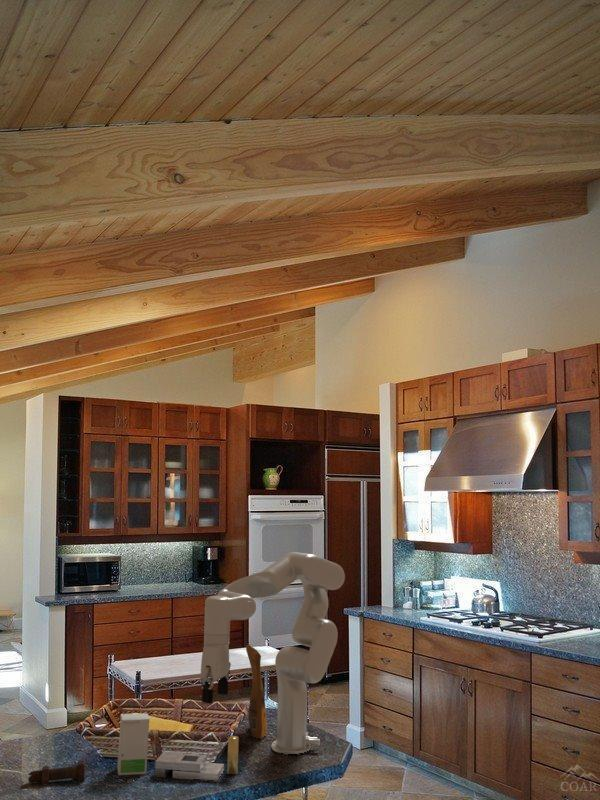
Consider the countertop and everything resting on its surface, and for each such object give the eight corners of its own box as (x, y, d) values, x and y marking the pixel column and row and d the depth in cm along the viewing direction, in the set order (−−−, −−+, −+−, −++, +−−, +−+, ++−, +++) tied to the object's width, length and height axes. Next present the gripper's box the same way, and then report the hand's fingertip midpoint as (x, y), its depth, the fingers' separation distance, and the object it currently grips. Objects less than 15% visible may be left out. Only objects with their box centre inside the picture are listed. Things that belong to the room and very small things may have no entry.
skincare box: (118, 776, 231) (120, 720, 233) (116, 767, 238) (119, 713, 239) (147, 774, 233) (149, 718, 235) (145, 765, 240) (147, 711, 241)
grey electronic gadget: (223, 771, 237) (224, 755, 237) (217, 781, 229) (218, 765, 230) (163, 766, 239) (163, 751, 240) (154, 776, 232) (155, 761, 232)
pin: (238, 771, 237) (239, 736, 238) (236, 775, 234) (237, 739, 235) (228, 770, 237) (229, 735, 238) (226, 774, 234) (227, 739, 235)
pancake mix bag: (248, 741, 263) (251, 653, 266) (243, 723, 282) (245, 641, 285) (268, 740, 264) (271, 653, 267) (262, 722, 283) (264, 641, 286)
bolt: (28, 790, 224) (84, 783, 229) (28, 787, 220) (84, 780, 225) (28, 767, 228) (84, 761, 232) (28, 764, 224) (84, 758, 228)
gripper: (218, 632, 248) (217, 689, 246) (191, 643, 232) (189, 704, 230) (240, 634, 245) (239, 692, 244) (214, 646, 229) (213, 708, 228)
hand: (215, 698), depth 237 cm, fingers open, 9 cm apart
